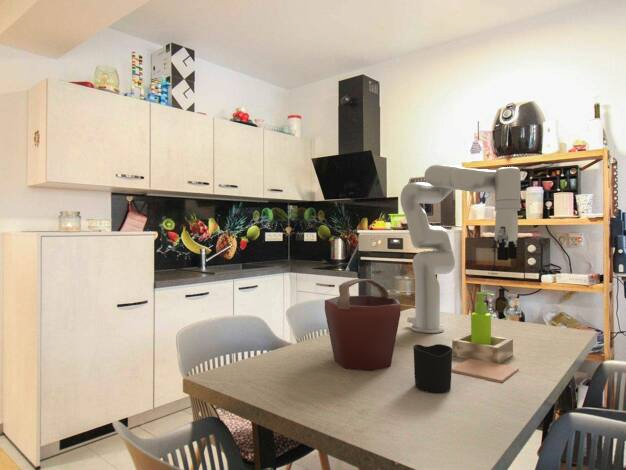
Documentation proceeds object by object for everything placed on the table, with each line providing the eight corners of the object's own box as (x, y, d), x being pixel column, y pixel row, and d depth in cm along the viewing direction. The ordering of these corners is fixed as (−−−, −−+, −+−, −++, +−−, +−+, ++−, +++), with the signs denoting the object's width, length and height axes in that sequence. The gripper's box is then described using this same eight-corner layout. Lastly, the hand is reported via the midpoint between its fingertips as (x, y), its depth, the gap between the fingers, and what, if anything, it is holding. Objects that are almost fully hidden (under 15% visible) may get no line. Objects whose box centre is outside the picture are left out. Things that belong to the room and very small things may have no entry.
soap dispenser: (491, 359, 132) (491, 294, 132) (468, 355, 136) (468, 292, 136) (496, 355, 137) (496, 292, 137) (474, 351, 141) (474, 290, 141)
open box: (452, 356, 136) (452, 340, 136) (469, 347, 147) (469, 332, 146) (498, 364, 127) (498, 347, 127) (512, 354, 137) (512, 339, 137)
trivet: (450, 371, 121) (450, 369, 121) (469, 360, 131) (469, 358, 131) (502, 382, 112) (502, 380, 112) (518, 369, 122) (518, 367, 122)
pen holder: (423, 378, 115) (423, 341, 115) (458, 386, 109) (458, 347, 109) (406, 388, 108) (406, 348, 108) (443, 397, 102) (443, 355, 102)
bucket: (352, 379, 114) (352, 285, 114) (307, 359, 132) (307, 278, 132) (417, 364, 128) (417, 280, 127) (368, 348, 146) (368, 274, 146)
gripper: (503, 207, 148) (502, 257, 148) (487, 205, 134) (486, 260, 134) (526, 207, 143) (526, 258, 143) (512, 204, 130) (512, 261, 130)
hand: (507, 259), depth 139 cm, fingers open, 9 cm apart
